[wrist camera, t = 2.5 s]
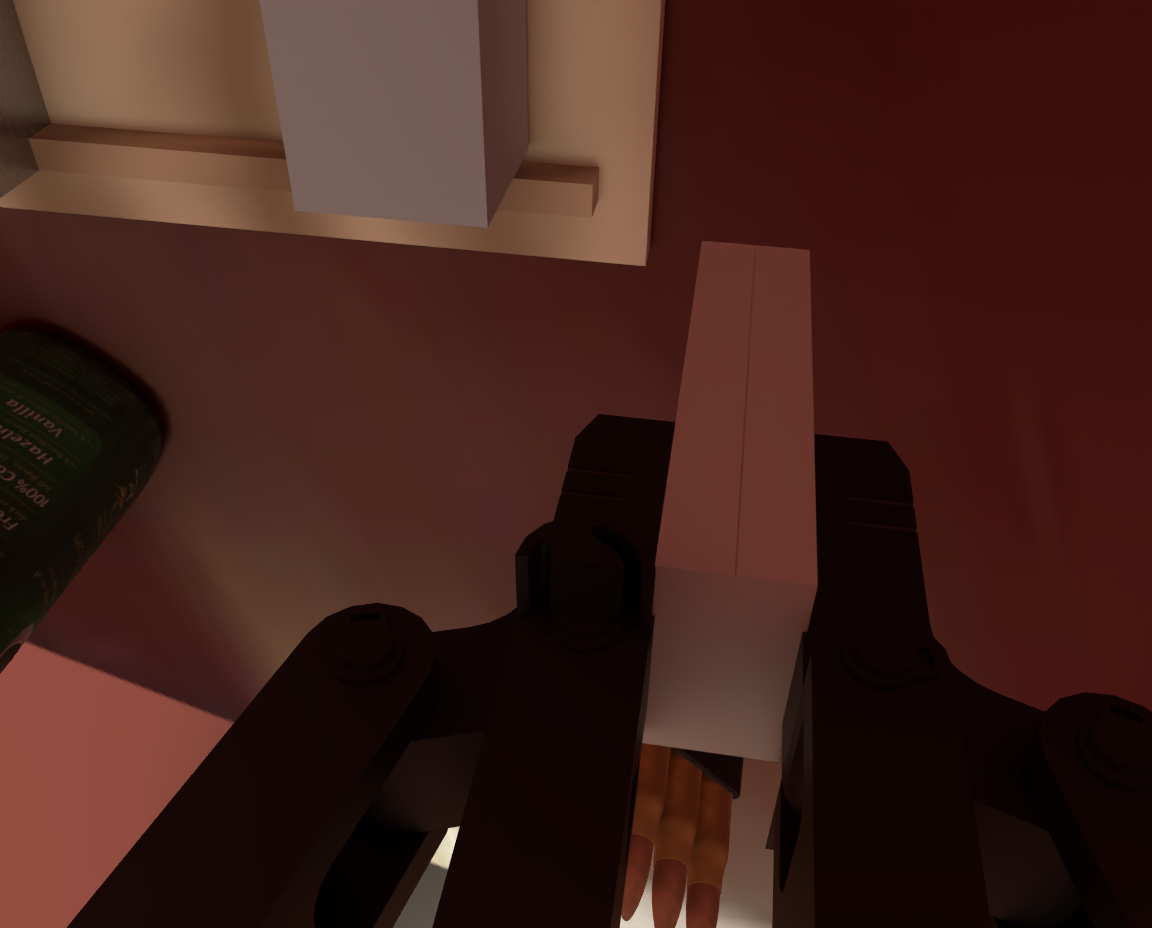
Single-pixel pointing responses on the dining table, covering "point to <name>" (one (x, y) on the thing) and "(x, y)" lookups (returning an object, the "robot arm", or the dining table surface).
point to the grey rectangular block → (400, 105)
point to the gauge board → (255, 144)
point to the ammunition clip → (681, 833)
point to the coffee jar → (61, 470)
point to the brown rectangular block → (17, 103)
